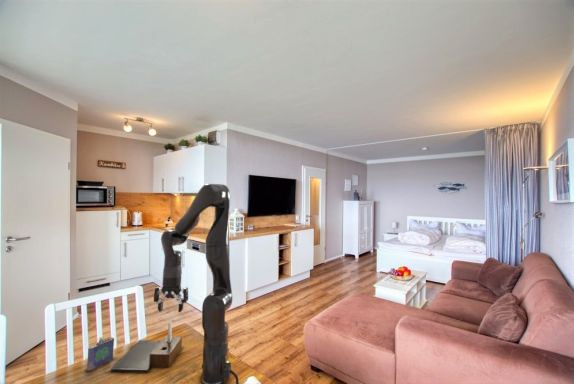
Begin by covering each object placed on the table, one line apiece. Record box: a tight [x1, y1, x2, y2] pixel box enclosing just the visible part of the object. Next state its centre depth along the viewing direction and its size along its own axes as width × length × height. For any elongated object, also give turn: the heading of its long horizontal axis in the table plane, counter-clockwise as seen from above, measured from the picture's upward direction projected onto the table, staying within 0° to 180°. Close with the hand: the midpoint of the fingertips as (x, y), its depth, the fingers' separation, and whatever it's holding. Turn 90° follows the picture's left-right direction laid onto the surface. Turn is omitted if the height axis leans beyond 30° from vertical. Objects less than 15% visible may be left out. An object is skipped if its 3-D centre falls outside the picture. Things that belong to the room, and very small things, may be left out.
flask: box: [86, 336, 115, 372], centre depth 103 cm, size 9×3×11 cm, turn 151°
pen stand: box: [149, 336, 183, 368], centre depth 110 cm, size 8×13×5 cm, turn 1°
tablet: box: [110, 339, 161, 373], centre depth 110 cm, size 14×20×1 cm
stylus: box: [167, 322, 173, 343], centre depth 112 cm, size 1×1×13 cm
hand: (170, 311), depth 113 cm, fingers open, 8 cm apart
